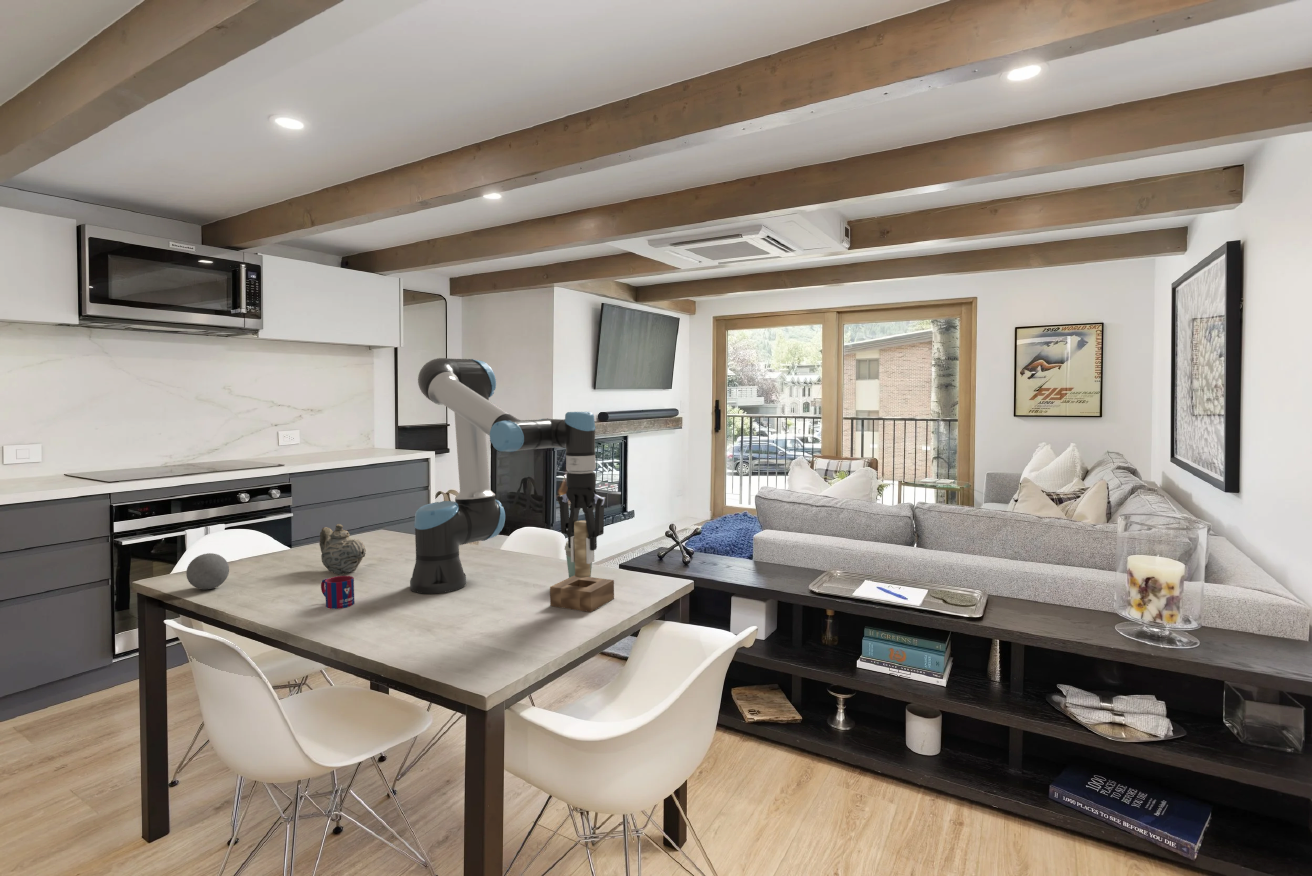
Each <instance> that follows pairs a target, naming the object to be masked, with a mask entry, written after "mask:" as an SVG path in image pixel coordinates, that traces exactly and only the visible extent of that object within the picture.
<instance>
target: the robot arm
mask: <svg viewBox="0 0 1312 876" xmlns="http://www.w3.org/2000/svg"><path fill="white" fill-rule="evenodd" d="M417 384H418V388H419V390H420V392H421V394H423V396H424V397H425V398H426V399H427V400H429V401H430V402H432V403H434V404H436V405H440V406H443V405H444V406H445V407H446V408H447V409H449V410H450V411H452V412H453V413H454V423H455V424H454V425H455V426H454V427H455V438H456V442H455V443H456V453H457V455H456V456H457V467H458V482H459V492H458V494H456V496H455V498H454V501H453V500H443V501H440V502H439V501H436V502H432V503H428V504H427V503H426V504H424V505H422V506H420V507H419V508H418V509H417V510H416V511H415V514H414V523H413V527H414V533H415V535H414V537H415V540H414V541H415V564H414V567H413V571H412V576H411V578H410V580H409V589H410V591H412V592H413V593H417V594H427V595H429V594H430V595H431V594H443V593H448V592H453V591H454V592H455V591H457V590H461V589H462V588H465V586H466V585H467V575H466V573H465V572H464V569H463V565H462V562H461V559H460V546H463V545H467V544H471V543H477V542H481V541H482V542H484V541H488V540H490V539H493V538H495V537H497V536H499V534H500V533H501V532H502V530H503V528H504V527H505V521H506V512H505V509H504V506H503V504H502V503H501V502H500V500H498V499H496V493H494V492H493V491H492V490H491V488H490V475H489V461H488V447H487V446H488V445H487V443H488V442H487V435H488V436H489V441H490V444H492V446H493V448H494V449H495V450H497V451H498V452H508V453H513V452H519V451H527V450H537V449H538V450H539V449H552V448H558V449H559V448H560V449H561V448H562V449H565V463H566V464H565V467H566V471H567V473H566V475H565V477H566V478H565V479H566V480H565V481H566V487H567V488H566V489H567V490H566V492H565V493H564V494H561V495H557V501H558V505H559V518H560V532H561V534H565V535H567V541H568V547H569V548H571V562H575V546H574V522H575V521H579V515H580V510H582V512H583V513H584V520H585V521H586V525H587V530H588V535H589V536H588V537H587V538H586V562H587V564H590V563H592V564H593V563H595V551H597V547H598V540H597V538H598V537H599V536H603V534H604V526H605V522H604V521H605V520H604V519H605V504H606V502H607V498H606V497H605V496H600V495H598V492H597V490H596V486H597V480H596V479H597V475H596V472H594V471H595V470H596V466H597V464H596V425H595V415H594V413H593V412H592V411H568V412H566V413H565V415H564V416H565V417H564V419H561V418H559V419H558V418H540V419H525V420H523V419H519V418H516V417H515V416H514V415H512V414H510V413H509V412H507V411H506V410H504V409H502V408H501V407H500V406H498V405H496V404H495V403H494V402H491V400H490V399H489V398H491V397H492V396H493V395H494V393H495V391H496V388H497V387H496V386H497V379H496V375H495V372H494V371H493V368H492V367H491V366H490V365H489V364H488V363H487V362H485V361H483V360H478V359H474V358H446V357H438V358H434V359H431V360H429V361H428V362H426V363H425V364H424V365H423V366H421V369H420V370H419V373H418V376H417ZM569 502H570V507H569ZM593 503H594V504H595V506H594V504H593ZM594 508H595V509H594ZM594 511H595V512H594Z"/></svg>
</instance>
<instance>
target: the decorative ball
mask: <svg viewBox="0 0 1312 876" xmlns="http://www.w3.org/2000/svg"><path fill="white" fill-rule="evenodd" d="M186 568H187V569H186V572H185V573H186V579H187V581H188V583H189V584H190V585H192V587H194V588H196V589H199V590H203V591H204V590H213V589H215V588H217V587H220V586H221V585H222V584H224V583H225V581H226V580H227V579H228V576H229V573H230V565H229V563H228V561H227V560H226V559H225V558H224V557H223V556H222V555H220V554H217V553H213V552H212V553H211V552H210V553H209V552H208V553H203V554H200V555H197V556H196V557H194V558H193V559H192V560H191V561H190V562H189V564H188V566H187V567H186Z"/></svg>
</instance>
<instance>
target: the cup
mask: <svg viewBox="0 0 1312 876" xmlns="http://www.w3.org/2000/svg"><path fill="white" fill-rule="evenodd" d="M354 579H355V577H354V576H352V575H338V576H333V577H329V578H323V579H322V580H321V583H320V590H321V592H322V595H323V596H324V598H325V608H327V609H330V610H340V609H346V608H348V607H352V606H353V605H355V580H354Z"/></svg>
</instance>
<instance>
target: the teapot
mask: <svg viewBox="0 0 1312 876" xmlns="http://www.w3.org/2000/svg"><path fill="white" fill-rule="evenodd" d="M343 528H344V525H342V524H341V523H337V524H336V525H335V529H334V530H332V529H331V528H330V527H327V526H325V527H322V529H321V531H320V533H319V543H318V544H319V548H320V552H321V556H320V557H321V562H322V564H323V566H324V567H325V568H326V569H327V570H328V571H329V573H330V572H331V573H333V574H336V575H342V574H343V573H344V574H349V573H353V572H355V571H356V570H357V568H358V567H359V566H360V564H361V562H362V560H363V558H364V557H366V554H367V553H366V552H367V550H366V547H365V544H364V542H362V541H361V540H359V539H355V538H354V539H352V538H350V532H349V531H348V530H346V529H343Z"/></svg>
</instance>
